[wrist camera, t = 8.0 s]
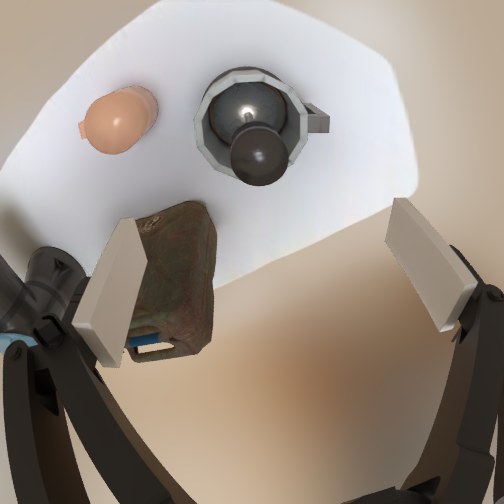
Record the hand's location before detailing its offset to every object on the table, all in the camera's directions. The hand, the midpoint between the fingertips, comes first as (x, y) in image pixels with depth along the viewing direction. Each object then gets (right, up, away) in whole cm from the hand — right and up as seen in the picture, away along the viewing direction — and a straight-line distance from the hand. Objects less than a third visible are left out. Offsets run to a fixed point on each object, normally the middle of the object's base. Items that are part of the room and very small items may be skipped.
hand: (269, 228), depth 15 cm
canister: (-16, +3, +38) cm, 41 cm away
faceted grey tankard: (-1, +20, +26) cm, 32 cm away
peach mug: (-19, +20, +24) cm, 36 cm away
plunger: (-1, +17, +22) cm, 27 cm away
